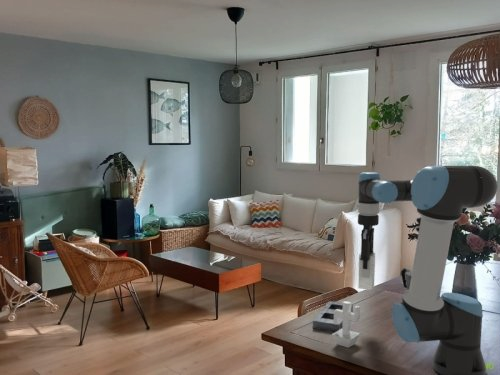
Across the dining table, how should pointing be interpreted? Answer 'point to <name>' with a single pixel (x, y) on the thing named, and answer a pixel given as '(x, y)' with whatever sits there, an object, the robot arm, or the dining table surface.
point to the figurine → (346, 325)
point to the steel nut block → (369, 282)
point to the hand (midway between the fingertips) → (366, 275)
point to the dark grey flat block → (329, 317)
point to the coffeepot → (407, 274)
